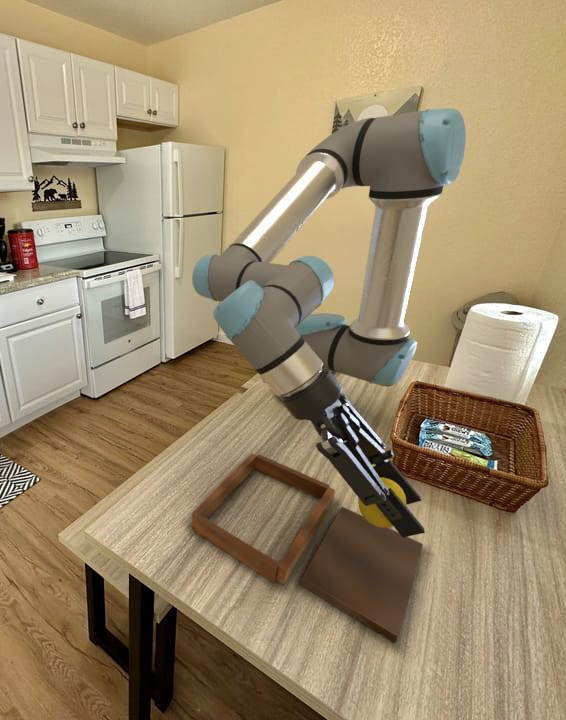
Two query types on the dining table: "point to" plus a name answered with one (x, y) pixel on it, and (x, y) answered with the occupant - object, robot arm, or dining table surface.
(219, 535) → the wooden frame
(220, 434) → the dining table surface
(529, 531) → the dining table surface
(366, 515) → the lemon
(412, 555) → the cutting board
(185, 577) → the dining table surface
